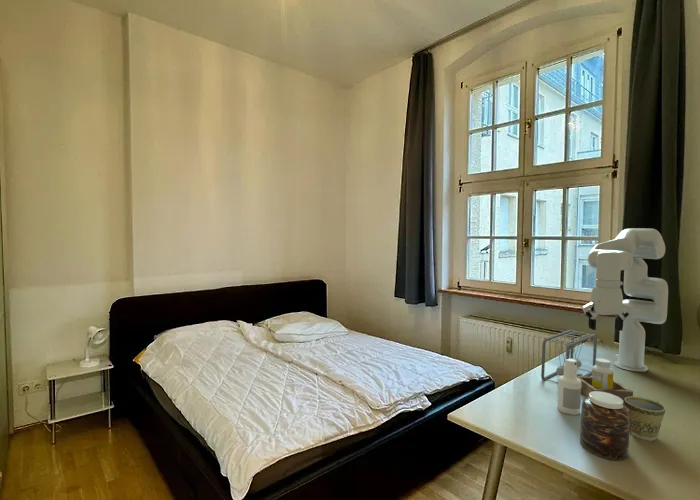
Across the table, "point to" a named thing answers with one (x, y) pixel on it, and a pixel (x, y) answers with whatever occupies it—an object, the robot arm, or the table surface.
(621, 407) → the jar
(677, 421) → the table surface
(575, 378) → the spray bottle
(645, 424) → the ceramic cup
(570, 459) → the table surface
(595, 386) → the supplement bottle
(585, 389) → the box
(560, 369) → the newton's cradle
